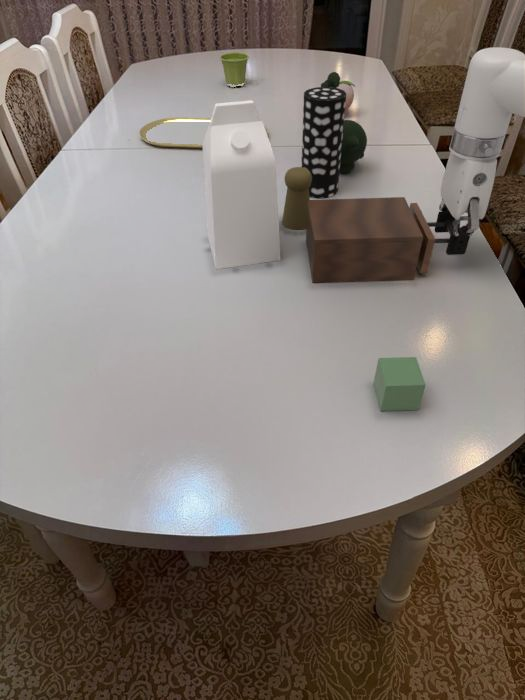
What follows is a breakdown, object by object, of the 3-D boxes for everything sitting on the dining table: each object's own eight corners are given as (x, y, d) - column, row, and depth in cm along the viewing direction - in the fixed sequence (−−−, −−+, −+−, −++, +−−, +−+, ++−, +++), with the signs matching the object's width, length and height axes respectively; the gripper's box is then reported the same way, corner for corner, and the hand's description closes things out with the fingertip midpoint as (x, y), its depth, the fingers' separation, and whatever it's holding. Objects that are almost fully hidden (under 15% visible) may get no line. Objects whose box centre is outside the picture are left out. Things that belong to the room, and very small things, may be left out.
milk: (266, 228, 100) (264, 88, 82) (280, 260, 92) (281, 112, 73) (207, 236, 98) (191, 95, 80) (216, 269, 90) (200, 120, 72)
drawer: (442, 234, 95) (451, 201, 90) (463, 272, 86) (474, 237, 81) (324, 238, 95) (326, 205, 90) (331, 276, 86) (335, 242, 81)
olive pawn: (278, 227, 100) (278, 174, 92) (287, 213, 104) (288, 161, 96) (306, 232, 98) (309, 179, 91) (315, 217, 102) (318, 165, 95)
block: (409, 382, 69) (416, 356, 66) (417, 410, 66) (425, 384, 62) (373, 383, 69) (378, 357, 66) (380, 411, 66) (386, 386, 62)
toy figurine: (307, 150, 131) (333, 184, 112) (309, 69, 119) (338, 91, 100) (342, 147, 132) (374, 180, 113) (347, 66, 120) (383, 88, 101)
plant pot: (254, 82, 168) (253, 53, 162) (242, 91, 162) (240, 61, 156) (229, 79, 171) (228, 51, 165) (217, 88, 165) (214, 58, 159)
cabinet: (396, 238, 96) (404, 196, 90) (413, 280, 86) (423, 236, 80) (305, 241, 96) (307, 199, 90) (312, 283, 86) (314, 240, 80)
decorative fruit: (326, 122, 141) (328, 83, 134) (317, 112, 146) (319, 75, 140) (357, 118, 142) (361, 80, 135) (347, 109, 148) (350, 72, 141)
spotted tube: (345, 191, 110) (355, 94, 96) (316, 202, 107) (321, 103, 93) (321, 178, 115) (327, 84, 102) (293, 187, 112) (295, 92, 98)
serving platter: (262, 153, 126) (262, 146, 125) (130, 148, 130) (129, 142, 129) (271, 125, 140) (271, 120, 138) (152, 122, 144) (151, 116, 143)
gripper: (523, 165, 70) (486, 269, 83) (481, 120, 83) (455, 217, 95) (470, 166, 70) (441, 271, 83) (436, 122, 83) (416, 218, 95)
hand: (449, 241), depth 89 cm, fingers closed on drawer, 6 cm apart
